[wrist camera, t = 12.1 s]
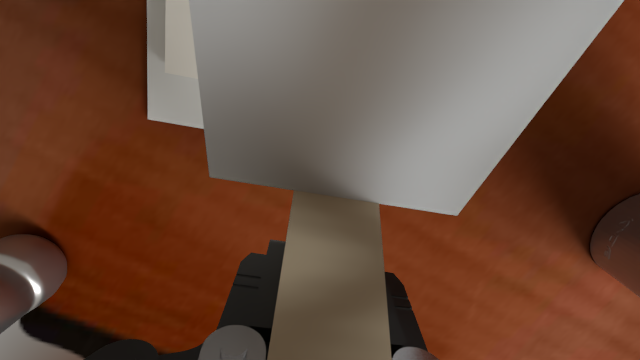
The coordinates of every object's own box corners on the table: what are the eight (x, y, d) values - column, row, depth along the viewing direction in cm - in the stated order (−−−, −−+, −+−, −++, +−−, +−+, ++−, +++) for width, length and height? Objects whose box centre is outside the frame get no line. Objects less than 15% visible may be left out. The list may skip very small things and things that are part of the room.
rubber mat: (401, -109, 21) (403, -112, 21) (343, 151, 28) (343, 153, 27) (148, -174, 20) (145, -178, 19) (150, 118, 26) (147, 119, 26)
